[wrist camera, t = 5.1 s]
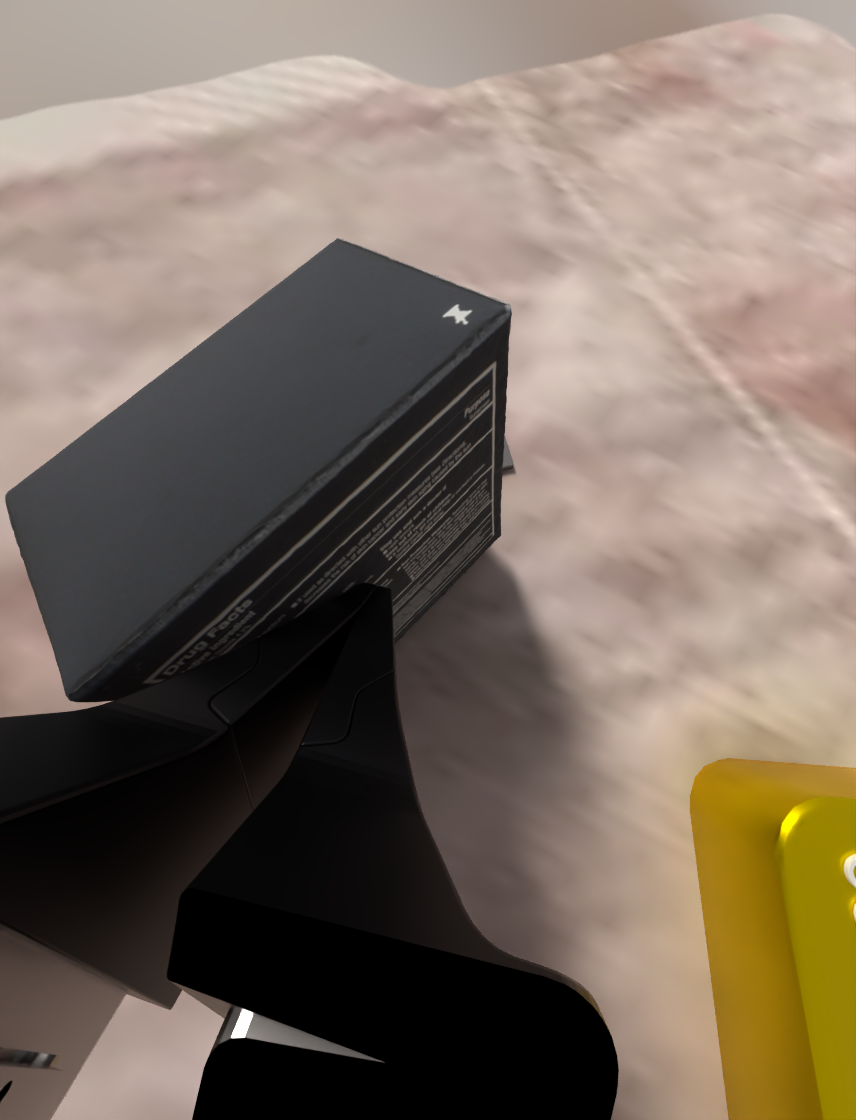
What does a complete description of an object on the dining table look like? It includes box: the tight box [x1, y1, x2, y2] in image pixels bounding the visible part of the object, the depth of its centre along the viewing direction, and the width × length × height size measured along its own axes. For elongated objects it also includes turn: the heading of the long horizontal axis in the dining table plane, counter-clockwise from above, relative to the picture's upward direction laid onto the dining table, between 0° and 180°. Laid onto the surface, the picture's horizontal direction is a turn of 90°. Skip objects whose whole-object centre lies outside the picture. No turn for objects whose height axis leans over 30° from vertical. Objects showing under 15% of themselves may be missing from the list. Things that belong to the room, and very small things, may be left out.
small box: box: [5, 238, 512, 702], centre depth 11 cm, size 11×6×10 cm, turn 135°
